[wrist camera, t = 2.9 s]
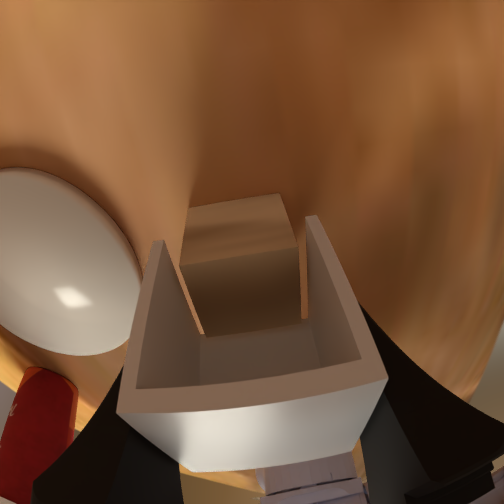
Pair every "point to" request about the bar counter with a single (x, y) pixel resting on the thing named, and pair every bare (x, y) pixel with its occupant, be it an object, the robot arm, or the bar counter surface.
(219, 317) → the maple block
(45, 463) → the paper cup
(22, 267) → the ceramic dish
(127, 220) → the bar counter surface
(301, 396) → the grey open box
